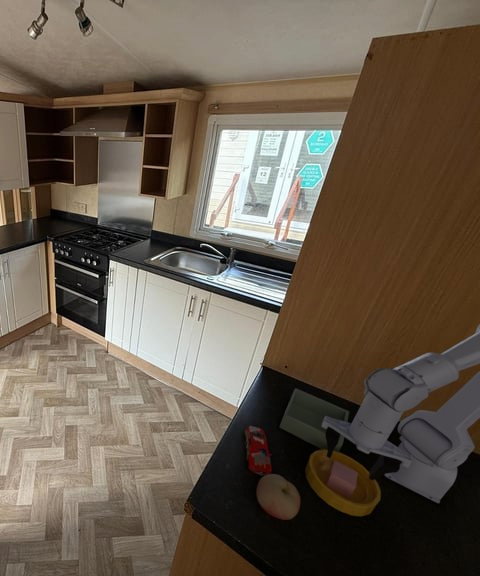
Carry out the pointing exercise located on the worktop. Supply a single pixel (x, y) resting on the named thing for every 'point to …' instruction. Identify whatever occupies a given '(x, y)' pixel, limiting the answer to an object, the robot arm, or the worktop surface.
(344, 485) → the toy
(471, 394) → the robot arm
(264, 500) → the fruit
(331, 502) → the bowl
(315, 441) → the bin
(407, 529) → the worktop surface
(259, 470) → the race car
